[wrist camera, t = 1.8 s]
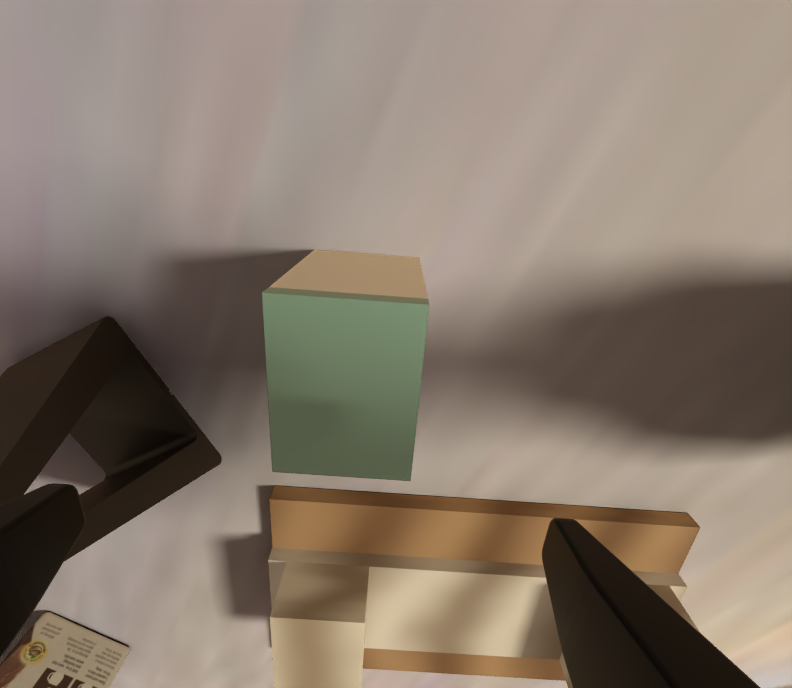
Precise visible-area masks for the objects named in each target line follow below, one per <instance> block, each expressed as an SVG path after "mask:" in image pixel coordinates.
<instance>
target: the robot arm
mask: <svg viewBox="0 0 792 688" xmlns="http://www.w3.org/2000/svg"><path fill="white" fill-rule="evenodd" d="M84 524H85V514H84V511H83V507H82V504H81V501H80V497H79V494H78V491H77V489H76V488H75V487H74V486H73V485H69V484H54V483H53V484H47V485H44V486H42V487H40V488H38V489H36V490H33V491H31V492H29V493H27V494H25V495H23V496H20V497H18V498H16V499H14V500H12V501H10V502H7V503H5V504H3V505H1V506H0V658H1V656H2V655H3V654H4V652H5V651H6V649H7V648H8V647H9V645H10V644H11V643H12V641H13V640H14V638H15V637H16V636H17V634H18V633H19V631H20V630H21V629H22V627H23V626H24V624H25V623H26V621H27V620H28V618H29V617H30V615H31V614H32V612H33V611H34V609H35V608H36V606H37V604H38V603H39V601H40V600H41V598H42V596H43V595H44V593H45V591H46V590H47V588H48V587H49V585H50V583H51V582H52V580H53V578H54V577H55V575H56V573H57V572H58V570H59V568H60V567H61V565H62V563H63V562H64V560H65V558H66V557H67V555H68V554H69V552H70V550H71V549H72V547H73V545H74V544H75V542H76V540H77V539H78V537H79V535H80V534H81V532H82V530H83V527H84ZM542 562H543V567H544V571H545V576H546V581H547V585H548V590H549V595H550V600H551V604H552V609H553V614H554V618H555V623H556V628H557V632H558V637H559V641H560V645H561V650H562V653H563V657H564V660H565V664H566V667H567V670H568V674H569V677H570V680H571V683H572V686H573V688H760V687H759V686H758V685H757V684H756V683H755V682H754V681H752V680H751V679H750V678H749V677H748V676H747V675H746V674H745V673H744V672H743V671H741V670H740V669H739V668H738V667H737V666H736V665H735V664H734V663H733V662H732V661H730V660H729V659H728V658H727V657H726V656H725V655H724V654H723V653H722V652H721V651H719V650H718V649H717V648H716V647H715V646H714V645H713V644H712V643H711V642H710V641H708V640H707V639H706V638H705V637H704V636H703V635H702V634H701V633H700V632H699V631H697V630H696V629H695V628H694V627H693V626H692V625H691V624H690V623H689V622H688V621H686V620H685V619H684V618H683V617H682V616H681V615H680V614H679V613H678V612H677V611H675V610H674V609H673V608H672V607H671V606H670V605H669V604H668V603H667V602H666V601H664V600H663V599H662V598H661V597H660V596H659V595H658V594H657V593H656V592H655V591H653V590H652V589H651V588H650V587H649V586H648V585H647V584H646V583H645V582H644V581H642V580H641V579H640V578H639V577H638V576H637V575H636V574H635V573H634V572H633V571H631V570H630V569H629V568H628V567H627V566H626V565H625V564H624V563H623V562H622V561H620V560H619V559H618V558H617V557H616V556H615V555H614V554H613V553H612V552H611V551H609V550H608V549H607V548H606V547H605V546H604V545H603V544H602V543H601V542H600V541H598V540H597V539H596V538H595V537H594V536H593V535H592V534H591V533H590V532H589V531H587V530H586V529H585V528H584V527H583V526H582V525H581V524H580V523H579V522H577V521H576V520H574V519H569V518H553V519H552V520H551V521H550V523H549V527H548V530H547V533H546V537H545V540H544V544H543V548H542Z"/></svg>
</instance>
